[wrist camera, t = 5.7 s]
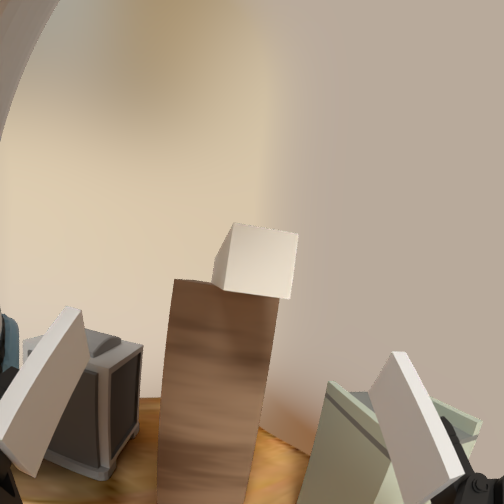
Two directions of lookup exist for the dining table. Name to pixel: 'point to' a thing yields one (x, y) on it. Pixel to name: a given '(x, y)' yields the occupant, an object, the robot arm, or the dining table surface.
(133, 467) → the dining table surface
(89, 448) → the grey paneled box
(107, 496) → the dining table surface
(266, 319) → the brown wooden block
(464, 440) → the grey-green storage box
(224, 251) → the rail
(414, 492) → the robot arm
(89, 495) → the dining table surface
